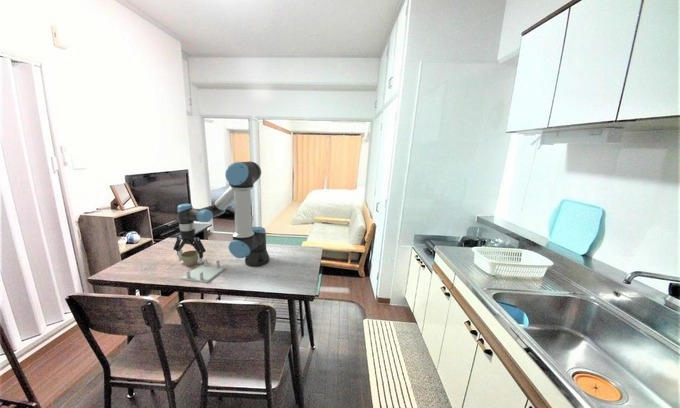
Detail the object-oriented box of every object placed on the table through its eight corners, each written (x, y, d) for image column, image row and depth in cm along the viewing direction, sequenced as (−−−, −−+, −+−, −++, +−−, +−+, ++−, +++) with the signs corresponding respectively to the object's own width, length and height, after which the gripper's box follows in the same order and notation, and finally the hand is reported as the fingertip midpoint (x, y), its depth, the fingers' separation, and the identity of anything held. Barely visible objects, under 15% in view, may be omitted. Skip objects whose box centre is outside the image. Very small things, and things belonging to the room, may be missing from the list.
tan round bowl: (191, 268, 142) (190, 257, 141) (177, 266, 144) (176, 255, 143) (204, 261, 152) (203, 251, 150) (191, 259, 154) (189, 249, 152)
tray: (225, 268, 144) (224, 261, 143) (207, 282, 128) (206, 274, 127) (201, 266, 146) (201, 258, 145) (181, 279, 131) (180, 271, 130)
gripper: (210, 229, 145) (212, 260, 150) (174, 225, 149) (177, 256, 153) (201, 233, 138) (204, 266, 143) (163, 229, 141) (168, 262, 146)
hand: (190, 261), depth 148 cm, fingers open, 13 cm apart
